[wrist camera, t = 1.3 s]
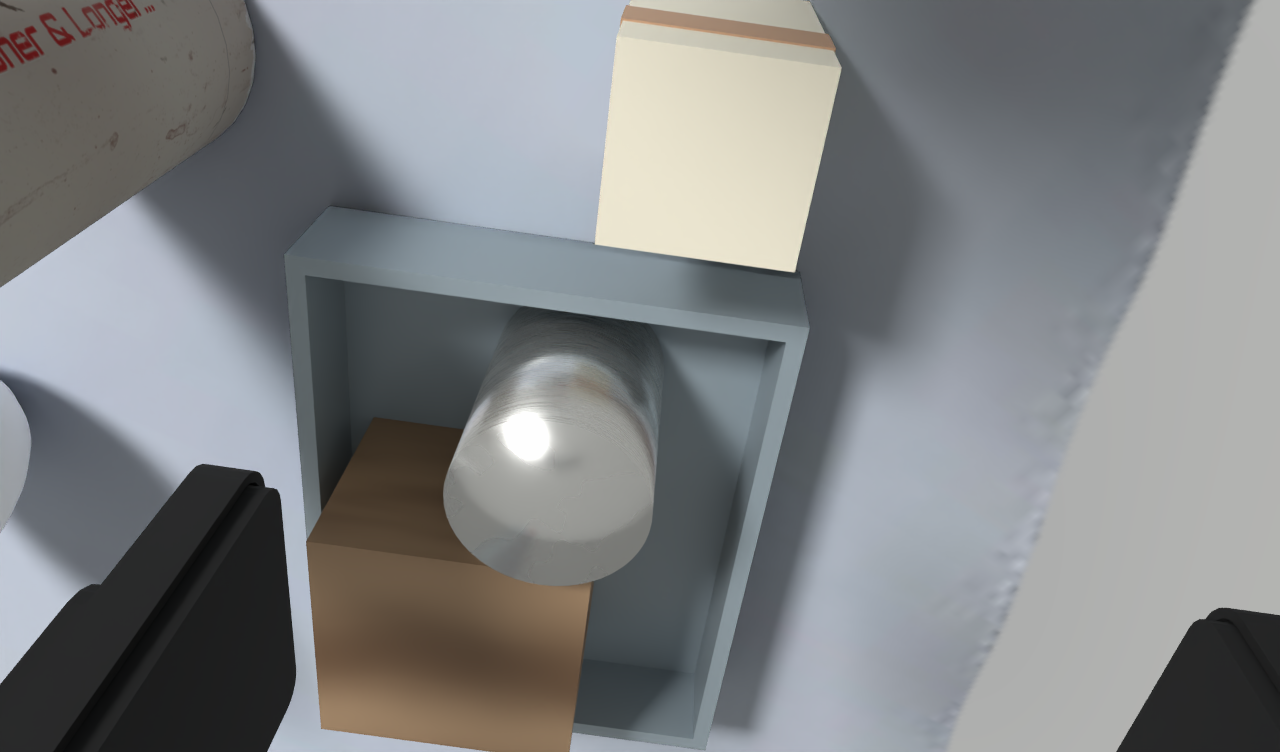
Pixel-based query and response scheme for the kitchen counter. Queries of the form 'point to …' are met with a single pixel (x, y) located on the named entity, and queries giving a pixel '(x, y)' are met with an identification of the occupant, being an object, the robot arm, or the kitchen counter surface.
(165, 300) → the kitchen counter surface
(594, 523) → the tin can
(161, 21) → the thermos bottle
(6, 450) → the sauce bottle
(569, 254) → the grey shallow tray
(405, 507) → the walnut block
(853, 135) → the kitchen counter surface
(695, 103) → the oat carton
